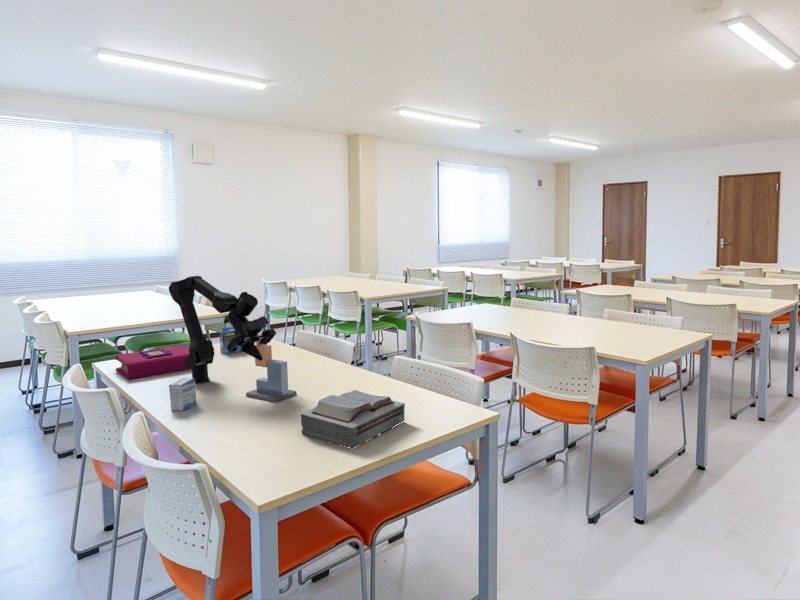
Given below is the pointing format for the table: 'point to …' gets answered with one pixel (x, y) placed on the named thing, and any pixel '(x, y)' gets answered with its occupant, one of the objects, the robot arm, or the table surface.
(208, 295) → the robot arm
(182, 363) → the book
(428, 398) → the table surface
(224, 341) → the label tape cartridge
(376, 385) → the table surface
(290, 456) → the table surface
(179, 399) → the medicine box
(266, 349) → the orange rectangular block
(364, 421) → the bible
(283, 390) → the stand
